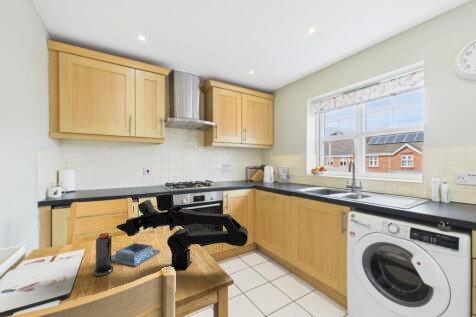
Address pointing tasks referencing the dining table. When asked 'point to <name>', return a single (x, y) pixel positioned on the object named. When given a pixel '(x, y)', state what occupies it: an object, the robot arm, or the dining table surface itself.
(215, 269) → the dining table surface
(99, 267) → the dark upright cylinder piece
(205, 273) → the dining table surface
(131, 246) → the flange socket
